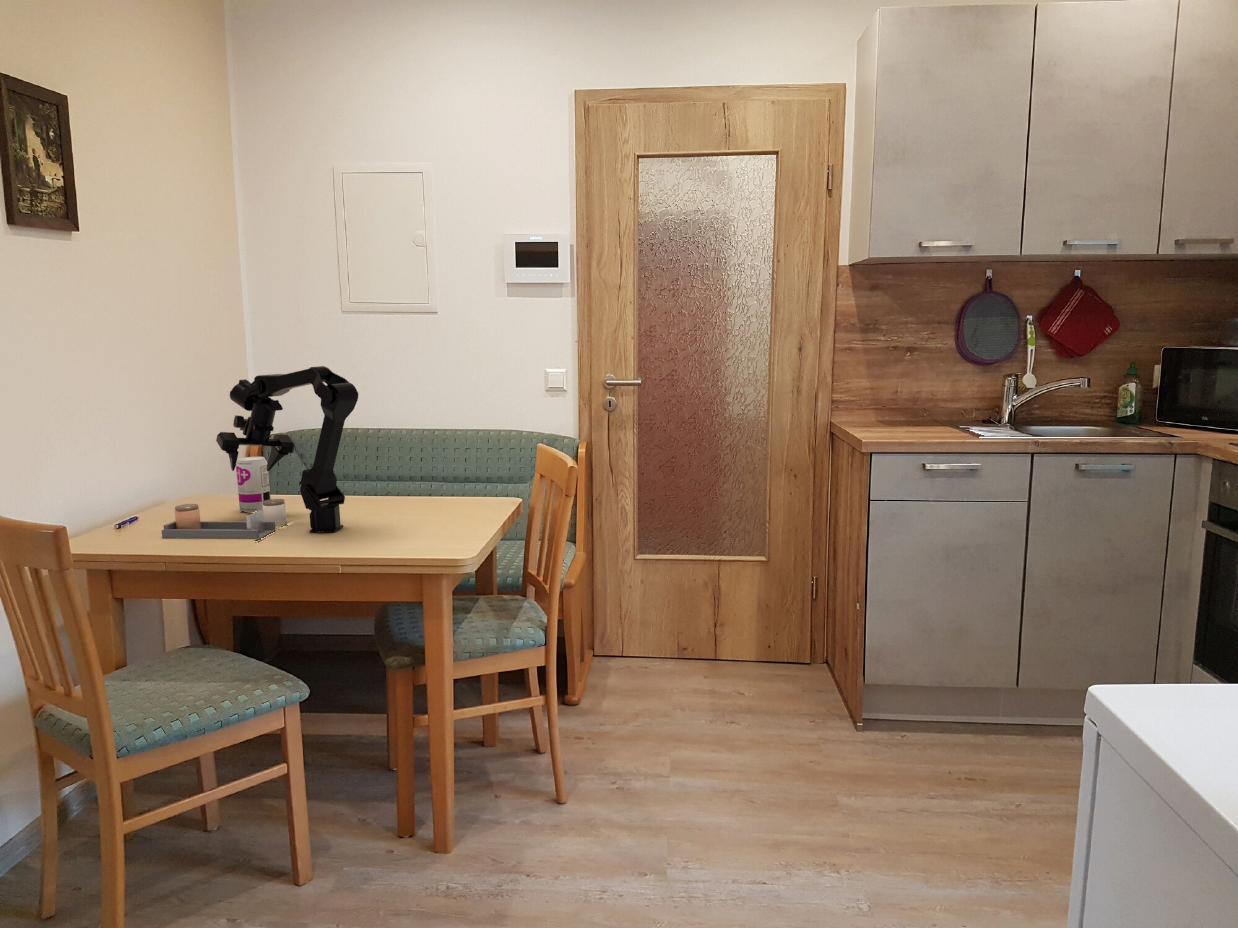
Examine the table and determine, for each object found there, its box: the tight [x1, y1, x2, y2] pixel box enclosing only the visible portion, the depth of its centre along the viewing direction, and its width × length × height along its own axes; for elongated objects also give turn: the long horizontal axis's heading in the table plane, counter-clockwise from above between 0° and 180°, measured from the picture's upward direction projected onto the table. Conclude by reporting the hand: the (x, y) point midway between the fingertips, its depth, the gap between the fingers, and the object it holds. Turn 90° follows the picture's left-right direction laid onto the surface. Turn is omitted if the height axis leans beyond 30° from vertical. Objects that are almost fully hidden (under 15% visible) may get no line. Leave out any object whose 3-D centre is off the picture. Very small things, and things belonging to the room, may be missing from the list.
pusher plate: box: [245, 510, 265, 532], centre depth 210 cm, size 1×7×5 cm, turn 176°
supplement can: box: [235, 456, 272, 513], centre depth 240 cm, size 8×8×15 cm
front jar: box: [174, 503, 202, 529], centre depth 211 cm, size 6×6×7 cm
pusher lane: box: [161, 520, 276, 541], centre depth 211 cm, size 24×10×4 cm, turn 86°
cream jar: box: [262, 498, 288, 527], centre depth 221 cm, size 6×6×7 cm
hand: (250, 470), depth 228 cm, fingers open, 9 cm apart
